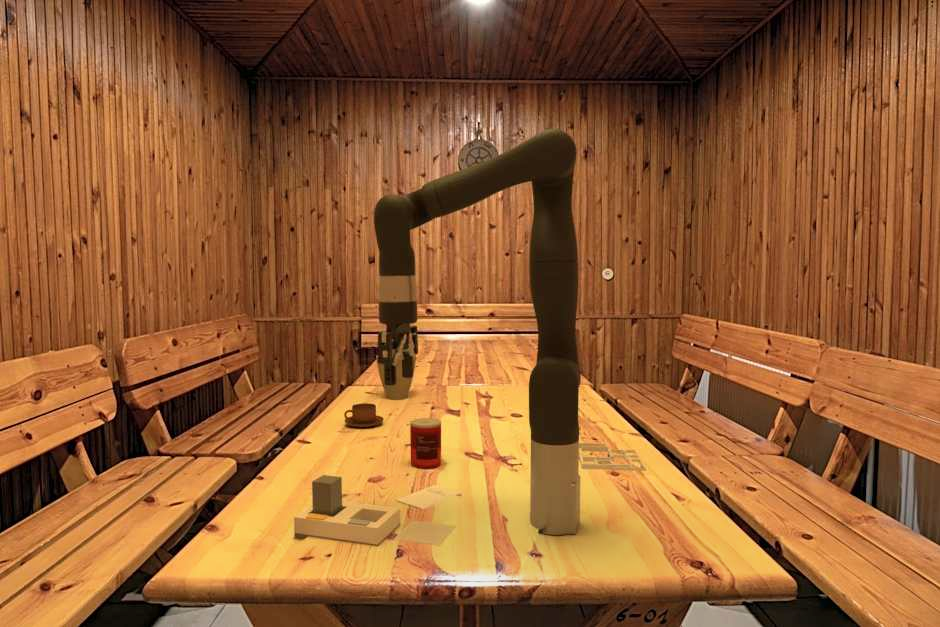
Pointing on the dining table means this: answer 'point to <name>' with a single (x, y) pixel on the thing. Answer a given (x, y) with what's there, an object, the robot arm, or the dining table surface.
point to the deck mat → (425, 532)
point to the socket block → (349, 523)
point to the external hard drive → (428, 497)
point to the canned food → (425, 443)
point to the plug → (327, 495)
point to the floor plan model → (608, 458)
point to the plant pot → (402, 383)
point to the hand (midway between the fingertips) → (399, 381)
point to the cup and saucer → (363, 416)
